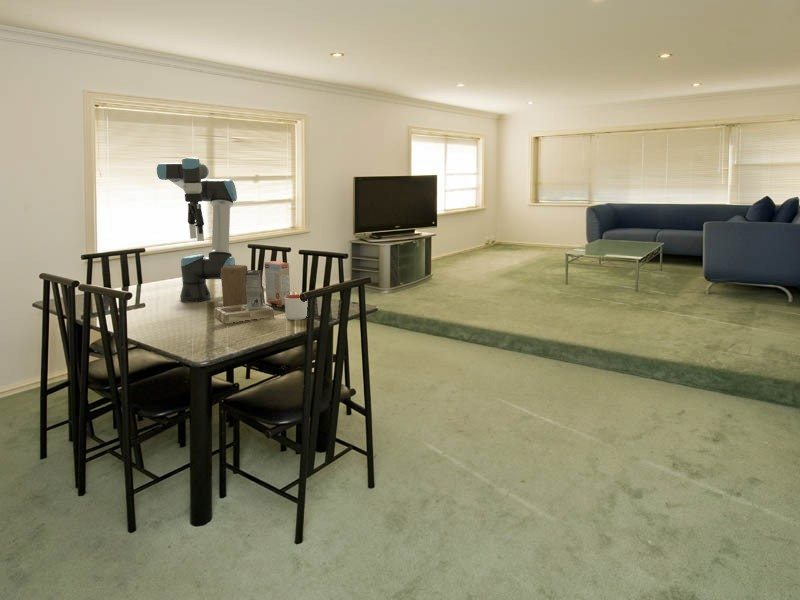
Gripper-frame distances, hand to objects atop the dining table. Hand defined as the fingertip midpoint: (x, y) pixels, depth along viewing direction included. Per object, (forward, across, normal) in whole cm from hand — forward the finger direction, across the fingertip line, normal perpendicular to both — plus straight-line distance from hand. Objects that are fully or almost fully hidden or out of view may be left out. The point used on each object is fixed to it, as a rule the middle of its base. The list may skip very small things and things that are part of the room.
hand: (197, 239), depth 270 cm
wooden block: (+35, -6, +18) cm, 40 cm away
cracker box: (+35, -1, +38) cm, 52 cm away
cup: (+35, +35, +33) cm, 59 cm away
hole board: (+35, +19, +14) cm, 42 cm away
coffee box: (+30, +19, +19) cm, 41 cm away
